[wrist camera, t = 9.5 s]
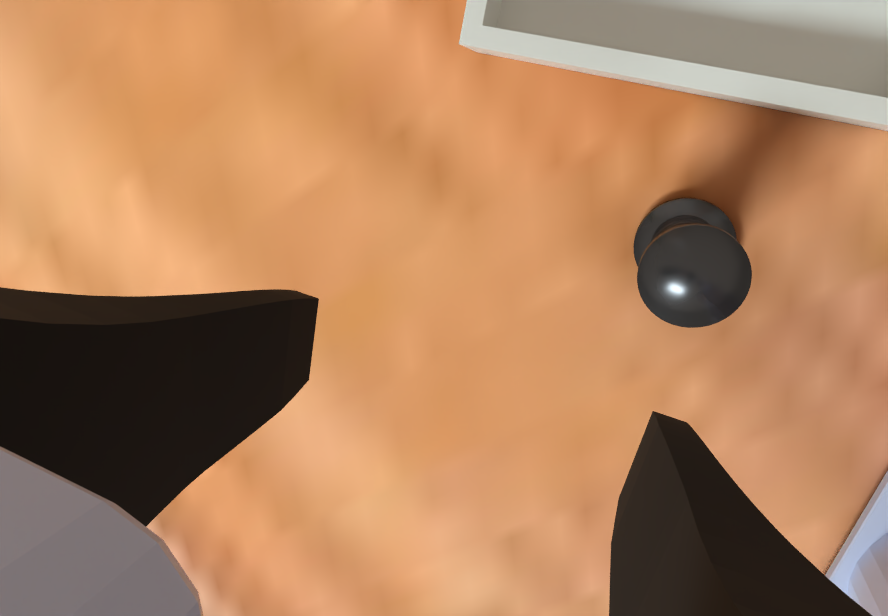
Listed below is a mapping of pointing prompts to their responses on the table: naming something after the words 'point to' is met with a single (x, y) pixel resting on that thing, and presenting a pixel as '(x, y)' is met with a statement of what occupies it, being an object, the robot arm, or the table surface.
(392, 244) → the table surface
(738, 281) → the knob
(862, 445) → the table surface
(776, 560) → the robot arm
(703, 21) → the tray
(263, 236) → the table surface
